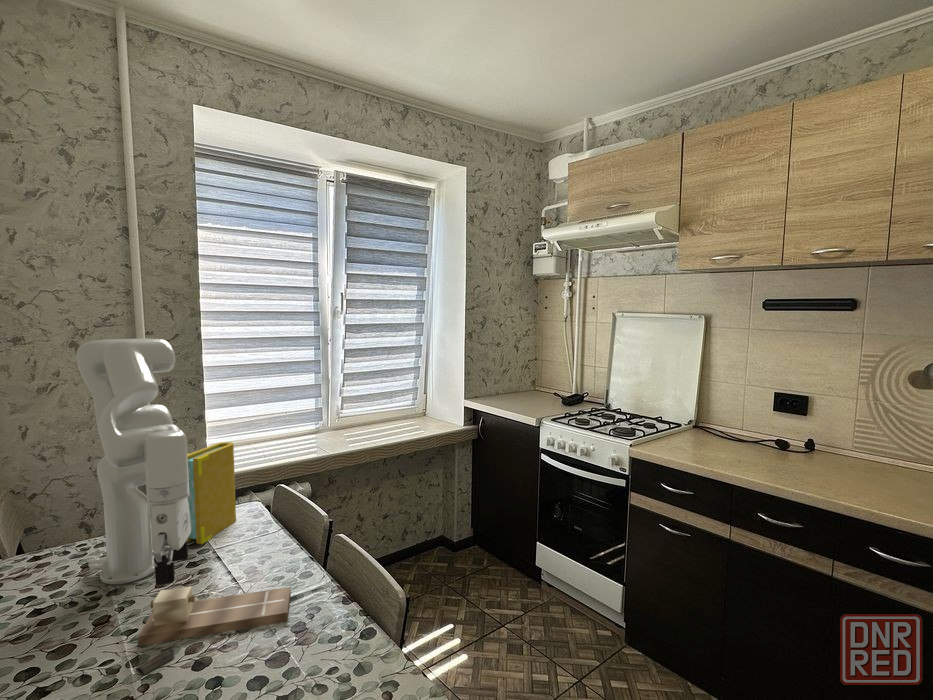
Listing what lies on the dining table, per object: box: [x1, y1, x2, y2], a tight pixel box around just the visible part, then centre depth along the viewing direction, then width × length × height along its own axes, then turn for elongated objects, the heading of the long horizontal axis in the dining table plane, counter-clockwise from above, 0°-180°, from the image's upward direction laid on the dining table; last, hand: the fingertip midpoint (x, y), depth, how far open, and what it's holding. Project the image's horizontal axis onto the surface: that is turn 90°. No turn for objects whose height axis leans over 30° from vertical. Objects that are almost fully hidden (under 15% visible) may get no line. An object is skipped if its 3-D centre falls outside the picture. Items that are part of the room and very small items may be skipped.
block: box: [135, 648, 176, 676], centre depth 91 cm, size 4×6×2 cm, turn 150°
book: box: [186, 441, 237, 545], centre depth 145 cm, size 17×7×25 cm, turn 168°
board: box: [137, 586, 292, 647], centre depth 104 cm, size 28×10×2 cm, turn 106°
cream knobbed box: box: [150, 585, 196, 626], centre depth 101 cm, size 8×4×5 cm, turn 106°
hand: (172, 571), depth 100 cm, fingers open, 9 cm apart
